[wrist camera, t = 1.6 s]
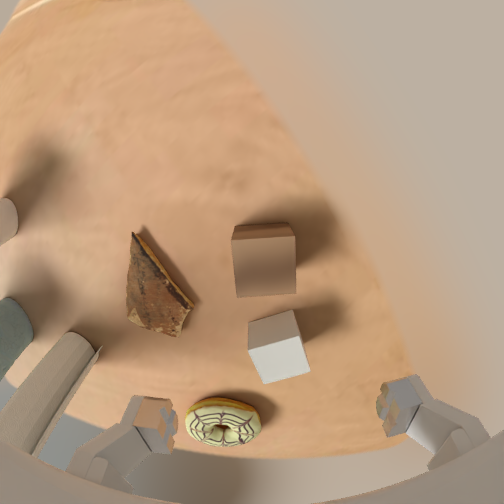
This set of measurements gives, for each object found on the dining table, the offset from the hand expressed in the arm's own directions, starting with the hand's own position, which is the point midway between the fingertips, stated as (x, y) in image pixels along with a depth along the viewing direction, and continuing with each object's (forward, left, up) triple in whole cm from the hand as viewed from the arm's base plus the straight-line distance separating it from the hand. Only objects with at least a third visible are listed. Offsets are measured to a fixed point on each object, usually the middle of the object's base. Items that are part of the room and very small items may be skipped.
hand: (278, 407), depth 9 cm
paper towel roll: (+13, -26, -19) cm, 35 cm away
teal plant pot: (+9, -40, -19) cm, 45 cm away
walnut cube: (0, 0, -19) cm, 19 cm away
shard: (+4, -13, -20) cm, 24 cm away
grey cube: (+10, +1, -19) cm, 21 cm away
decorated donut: (+25, -7, -19) cm, 32 cm away
